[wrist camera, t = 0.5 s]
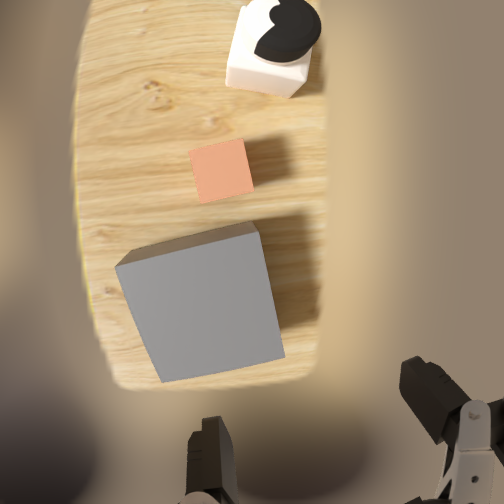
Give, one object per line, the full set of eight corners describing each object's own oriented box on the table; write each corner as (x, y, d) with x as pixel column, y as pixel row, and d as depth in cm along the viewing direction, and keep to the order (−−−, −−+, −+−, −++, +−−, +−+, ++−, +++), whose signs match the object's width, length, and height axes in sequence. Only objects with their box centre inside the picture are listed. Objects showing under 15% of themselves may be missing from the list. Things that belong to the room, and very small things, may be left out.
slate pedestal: (130, 250, 33) (114, 267, 27) (251, 220, 33) (258, 231, 27) (168, 353, 36) (161, 382, 31) (275, 330, 37) (285, 357, 31)
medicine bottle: (298, 46, 28) (334, -3, 17) (289, 99, 30) (325, 66, 19) (237, 33, 27) (247, -24, 16) (224, 87, 29) (228, 44, 18)
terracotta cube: (193, 154, 31) (188, 150, 26) (239, 143, 31) (242, 138, 26) (203, 198, 32) (200, 203, 27) (249, 188, 32) (254, 191, 28)
